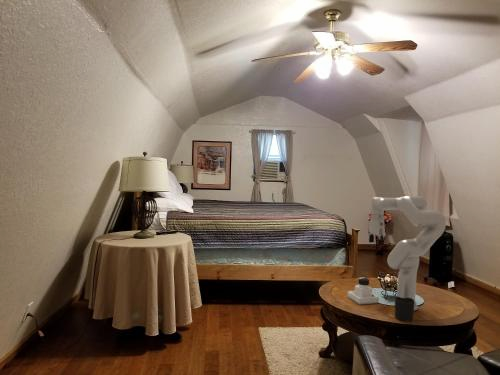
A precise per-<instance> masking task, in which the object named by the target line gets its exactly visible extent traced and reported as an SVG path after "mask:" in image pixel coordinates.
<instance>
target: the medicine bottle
mask: <svg viewBox="0 0 500 375" xmlns="http://www.w3.org/2000/svg"><path fill="white" fill-rule="evenodd" d="M354 291H355V295H356V296H358V297H359V298H365V297H372V294H373V288H372V287H370V279H369V278H366V277H359V278H358V284H357V285H356V284H355V286H354Z"/></svg>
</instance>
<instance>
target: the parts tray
mask: <svg viewBox="0 0 500 375" xmlns="http://www.w3.org/2000/svg"><path fill="white" fill-rule="evenodd" d="M347 298H348V299H350V300H352V301H353V302H354V303H356V304H358V305H369V304H379V296H378V295H376V294H375V293H372V297H365V298H359V297H358V296H356V295H355V290H349V291H348V290H347Z"/></svg>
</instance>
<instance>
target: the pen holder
mask: <svg viewBox="0 0 500 375" xmlns="http://www.w3.org/2000/svg"><path fill="white" fill-rule="evenodd" d="M415 301H416V300H415ZM415 301H414V300H413V299H412V298H401V297H397V296H395V298H394V302H395V306H394V317H395V319H397V320H398V321H403V322H411V321H412V320H413V319H414V311H415V310H414V302H415Z"/></svg>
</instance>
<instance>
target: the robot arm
mask: <svg viewBox="0 0 500 375" xmlns="http://www.w3.org/2000/svg"><path fill="white" fill-rule="evenodd" d="M427 207H428V201H427V199H426V198H424V197H422V196H420V195H406V196H404V195H403V196H400V197H383V196H382V197H380V196H373V197H372V198H371V209H370V220H369V221H370V222H369V227H368V228H367V232H368V237H369V238H368V242H369V243H374V242H375V236H377V237H378V239H377V240H378V241H377V245H378V246H380V247H381V246H384V240H385V238H386V233H387V232H386V231H385V230H386V229H385V227H386V226H385V219H384V218H385V217H384V212H385V211H401V212H402V213H403V214H404V215H405V217H406V218H407V219H408V221H409V222H410V223H411V225H413V226H414V227H416V228H417V227H418V228H424V229H422V230H421V231H420V232H419V233H418V234H417V235H416V236H415V237H413V238H409V239H408V238H407V239H402V240H400V241H398V242H397V243H396V245H395V246H394V248H393V249H391V251H390V253H389V254H388V256H387V261H386V262H387V265H388V266H389V268H390V269H392V270H399V271H398V275H397V287H396V288H397V291H396V297H401V298H412V299H413V300H414V301H415V302H414V311H416V310H418V309H419V305H417V301H416V294H417V293H416V291H417V290H416V289H417V273H418V269H419V266H420V257H422V256H424V255H425V254H426V253H427V251H428V250H429V249H430V248H431V247H432V246H433V245H434V244H435V242H436V241H437V240H438V239H439V238H440V237H441V236H442V235H443V233H444V231H445V229H446V226H447V220H446V217H445V215H444V214H443V213H442V212H441V211H438V210H426V208H427ZM374 235H375V236H374ZM393 306H394V307H395V301H394V302H393Z"/></svg>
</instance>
